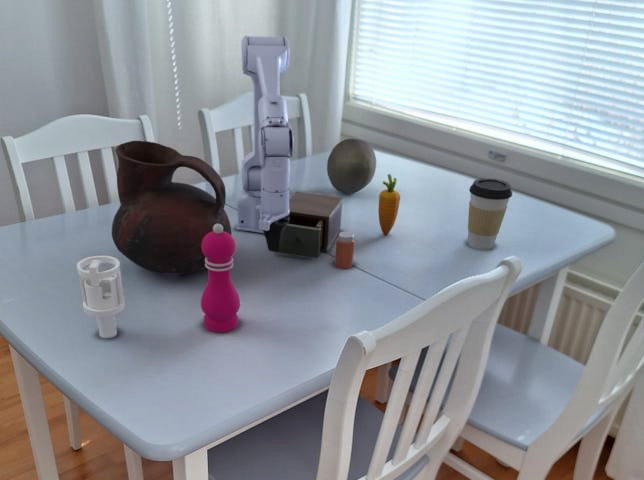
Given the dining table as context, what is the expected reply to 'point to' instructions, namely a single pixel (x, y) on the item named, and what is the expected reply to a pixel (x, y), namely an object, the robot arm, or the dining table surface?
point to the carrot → (388, 206)
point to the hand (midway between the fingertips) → (274, 250)
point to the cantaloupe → (351, 165)
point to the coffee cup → (486, 211)
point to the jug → (164, 209)
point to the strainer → (102, 292)
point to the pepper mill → (219, 282)
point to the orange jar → (344, 250)
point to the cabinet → (319, 212)
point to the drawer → (303, 236)
